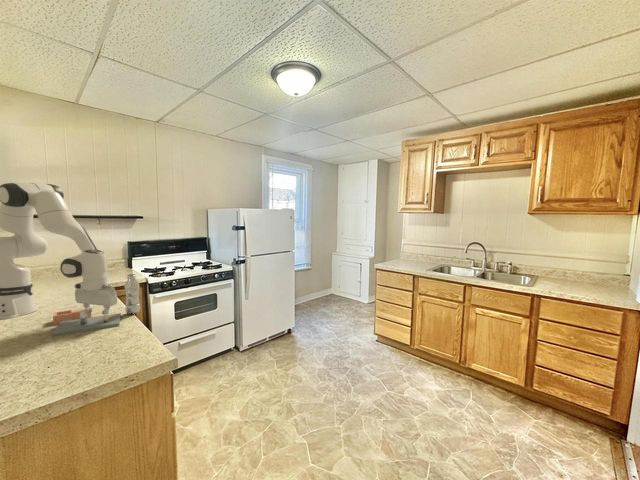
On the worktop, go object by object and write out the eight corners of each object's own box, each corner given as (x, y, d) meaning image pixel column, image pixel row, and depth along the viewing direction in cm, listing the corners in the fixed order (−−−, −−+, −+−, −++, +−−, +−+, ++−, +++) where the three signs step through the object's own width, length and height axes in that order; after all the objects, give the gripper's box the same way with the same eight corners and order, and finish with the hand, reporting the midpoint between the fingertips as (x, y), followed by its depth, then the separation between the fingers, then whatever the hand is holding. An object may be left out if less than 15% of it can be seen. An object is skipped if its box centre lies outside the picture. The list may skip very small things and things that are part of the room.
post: (79, 324, 121) (78, 311, 121) (82, 322, 123) (81, 309, 123) (106, 323, 124) (105, 310, 123) (108, 321, 126) (108, 308, 125)
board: (52, 337, 112) (52, 333, 112) (61, 324, 124) (61, 321, 124) (119, 326, 124) (118, 323, 124) (120, 316, 136) (120, 313, 136)
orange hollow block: (53, 325, 124) (52, 316, 124) (54, 320, 129) (54, 312, 129) (91, 318, 132) (90, 310, 132) (91, 314, 137) (90, 306, 137)
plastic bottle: (124, 316, 136) (122, 276, 134) (126, 312, 142) (125, 274, 140) (139, 314, 139) (138, 275, 137) (141, 310, 145) (139, 273, 143)
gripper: (120, 284, 128) (121, 313, 129) (85, 281, 132) (86, 309, 133) (107, 287, 122) (109, 317, 123) (71, 284, 126) (72, 313, 127)
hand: (97, 313), depth 128 cm, fingers open, 8 cm apart
